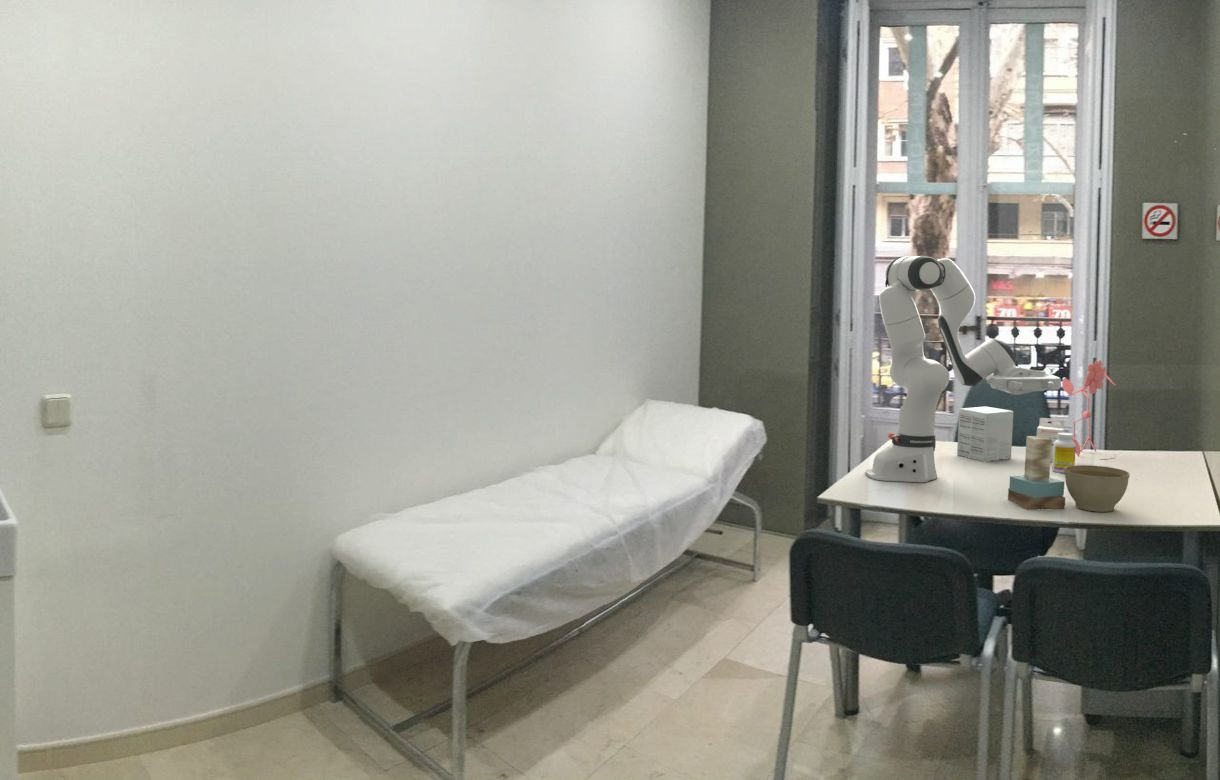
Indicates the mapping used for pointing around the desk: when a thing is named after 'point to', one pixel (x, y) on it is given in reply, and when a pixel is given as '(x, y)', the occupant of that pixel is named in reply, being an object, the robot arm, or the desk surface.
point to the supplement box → (985, 433)
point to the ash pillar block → (1038, 458)
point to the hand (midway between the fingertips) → (1035, 385)
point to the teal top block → (1036, 487)
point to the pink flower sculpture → (1093, 382)
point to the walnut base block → (1036, 501)
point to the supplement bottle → (1063, 452)
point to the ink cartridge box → (1050, 430)
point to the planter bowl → (1096, 486)
